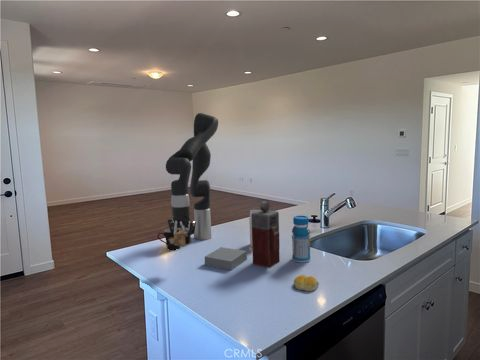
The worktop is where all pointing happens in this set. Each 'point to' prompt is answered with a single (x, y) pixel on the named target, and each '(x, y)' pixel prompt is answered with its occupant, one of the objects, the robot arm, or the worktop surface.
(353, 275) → the worktop surface
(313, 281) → the bread roll
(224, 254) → the gray square block
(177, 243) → the walnut cube
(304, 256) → the beverage bottle
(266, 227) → the red rectangular canister
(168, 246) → the coffee mug
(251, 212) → the milk carton
